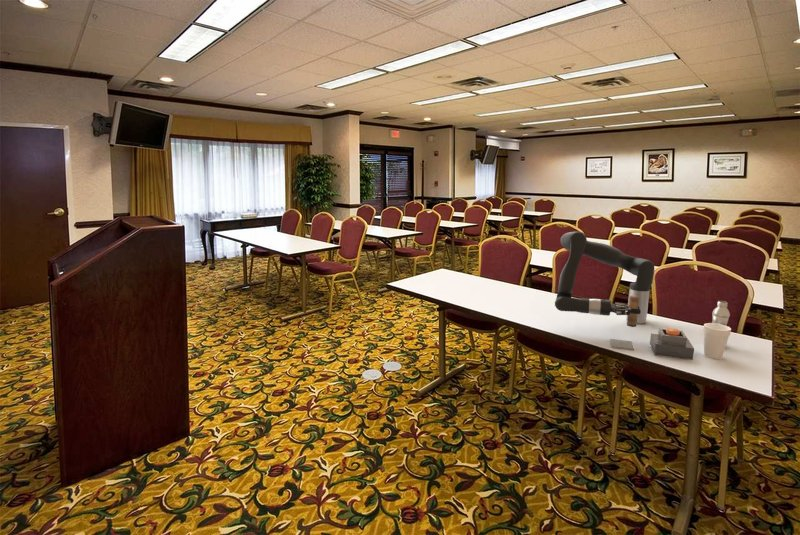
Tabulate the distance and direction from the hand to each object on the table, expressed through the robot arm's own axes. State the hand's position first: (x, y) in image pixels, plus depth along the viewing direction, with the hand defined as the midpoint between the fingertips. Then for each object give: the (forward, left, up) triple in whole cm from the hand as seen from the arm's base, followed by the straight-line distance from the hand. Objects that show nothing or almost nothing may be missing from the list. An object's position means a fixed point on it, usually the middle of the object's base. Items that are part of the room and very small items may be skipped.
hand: (639, 310), depth 205 cm
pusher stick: (0, -3, -8) cm, 8 cm away
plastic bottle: (-6, +33, -14) cm, 36 cm away
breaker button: (+11, +12, -7) cm, 18 cm away
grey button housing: (+11, +12, -14) cm, 22 cm away
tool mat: (+10, -7, -14) cm, 19 cm away
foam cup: (+10, +28, -14) cm, 33 cm away
